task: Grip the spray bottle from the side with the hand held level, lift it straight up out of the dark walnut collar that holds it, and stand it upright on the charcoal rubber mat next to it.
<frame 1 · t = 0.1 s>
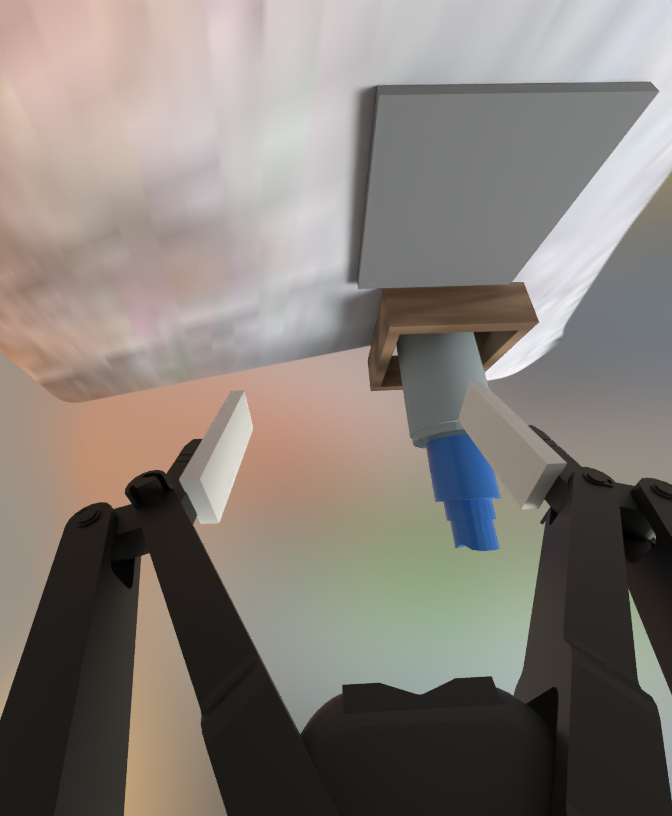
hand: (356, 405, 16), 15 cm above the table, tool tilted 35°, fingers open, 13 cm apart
spray bottle: (430, 327, 34), resting in walnut collar
walnut collar: (430, 329, 34), on the table
rubber mat: (461, 210, 21), on the table
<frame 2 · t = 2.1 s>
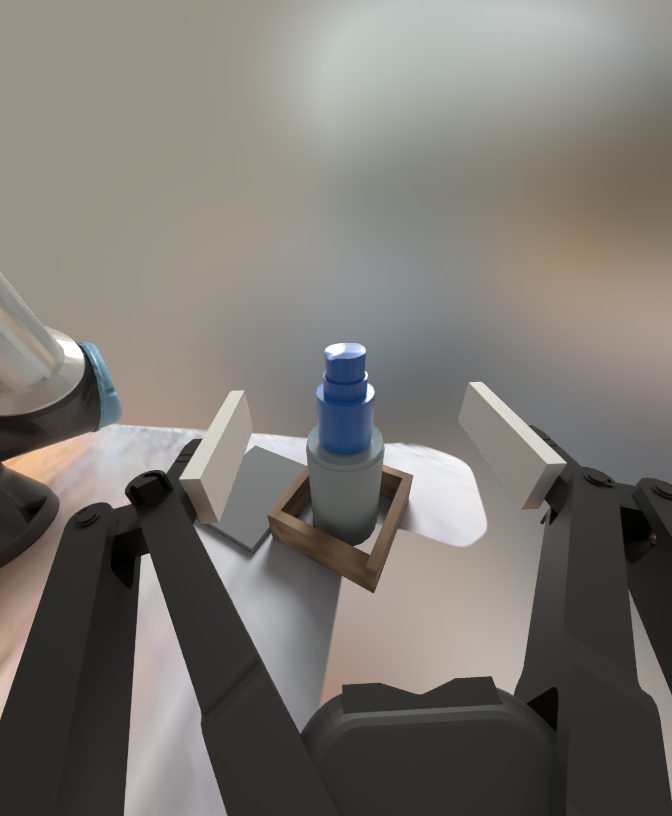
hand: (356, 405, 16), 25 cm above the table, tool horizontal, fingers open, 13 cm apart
spray bottle: (344, 517, 38), resting in walnut collar
walnut collar: (344, 516, 38), on the table
rubber mat: (255, 491, 42), on the table
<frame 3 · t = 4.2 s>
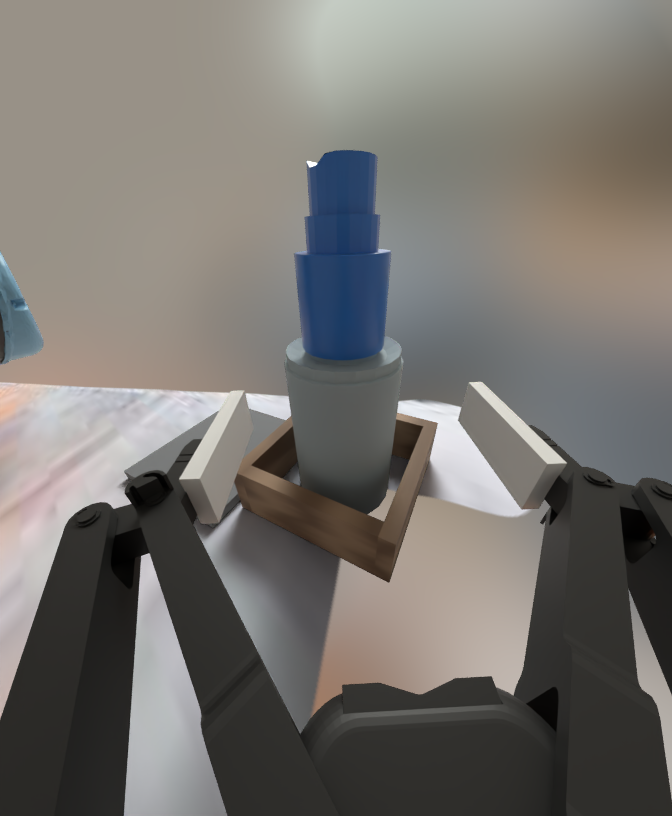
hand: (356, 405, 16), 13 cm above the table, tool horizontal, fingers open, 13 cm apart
spray bottle: (344, 482, 28), resting in walnut collar
walnut collar: (344, 480, 28), on the table
rubber mat: (225, 453, 32), on the table
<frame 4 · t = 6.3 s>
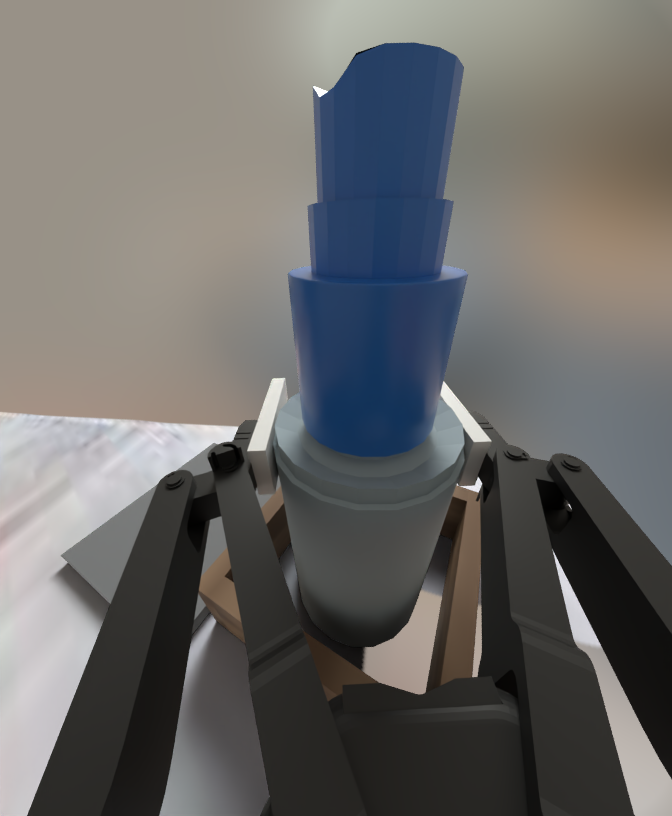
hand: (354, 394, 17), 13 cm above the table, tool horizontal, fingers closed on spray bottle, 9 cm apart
spray bottle: (357, 573, 21), resting in walnut collar, touching gripper
walnut collar: (357, 572, 20), on the table
rubber mat: (200, 520, 24), on the table
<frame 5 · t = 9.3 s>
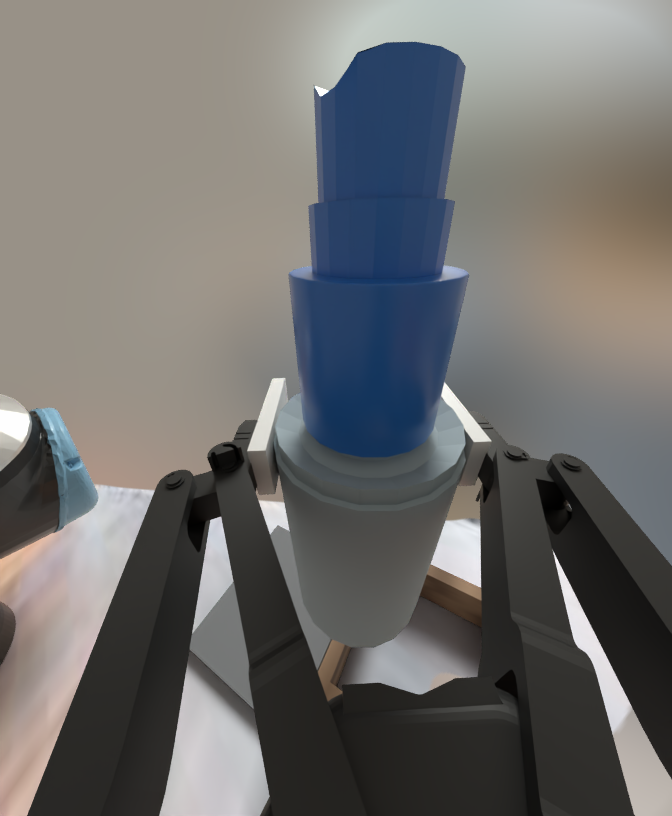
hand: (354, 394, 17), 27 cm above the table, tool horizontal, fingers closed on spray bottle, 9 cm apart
spray bottle: (357, 573, 21), point 14 cm above the table, touching gripper
walnut collar: (414, 661, 26), on the table
rubber mat: (282, 607, 31), on the table
when the fingers open (15 cm above the table, at t = 12.6 s): spray bottle drops 1 cm, resting on rubber mat.
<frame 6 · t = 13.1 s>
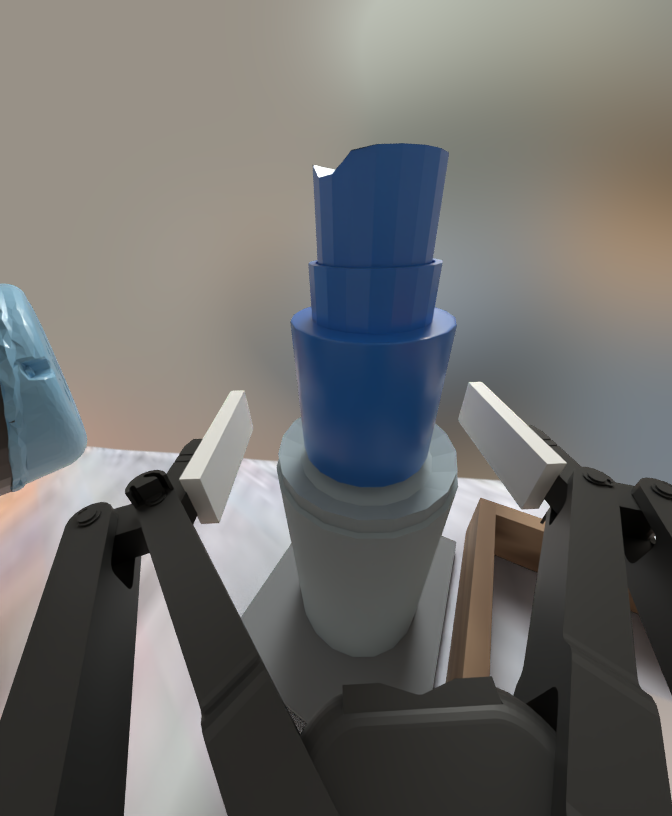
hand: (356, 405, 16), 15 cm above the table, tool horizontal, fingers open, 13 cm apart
spray bottle: (358, 584, 21), point 1 cm above the table, touching rubber mat
walnut collar: (572, 670, 17), on the table
rubber mat: (354, 593, 21), on the table
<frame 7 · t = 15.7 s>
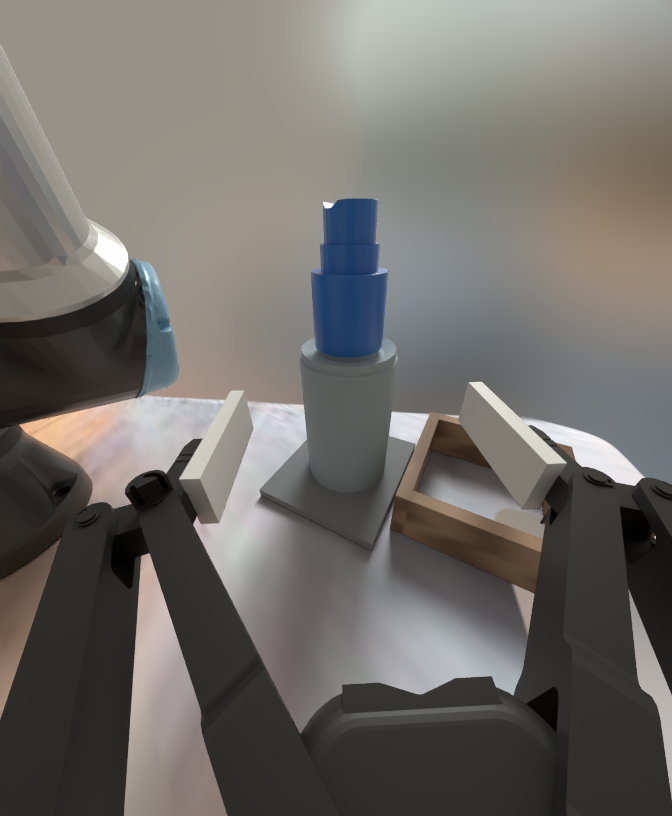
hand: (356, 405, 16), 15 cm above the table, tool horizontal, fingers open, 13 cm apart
spray bottle: (347, 463, 32), point 1 cm above the table, touching rubber mat
walnut collar: (477, 502, 28), on the table
rubber mat: (344, 470, 32), on the table
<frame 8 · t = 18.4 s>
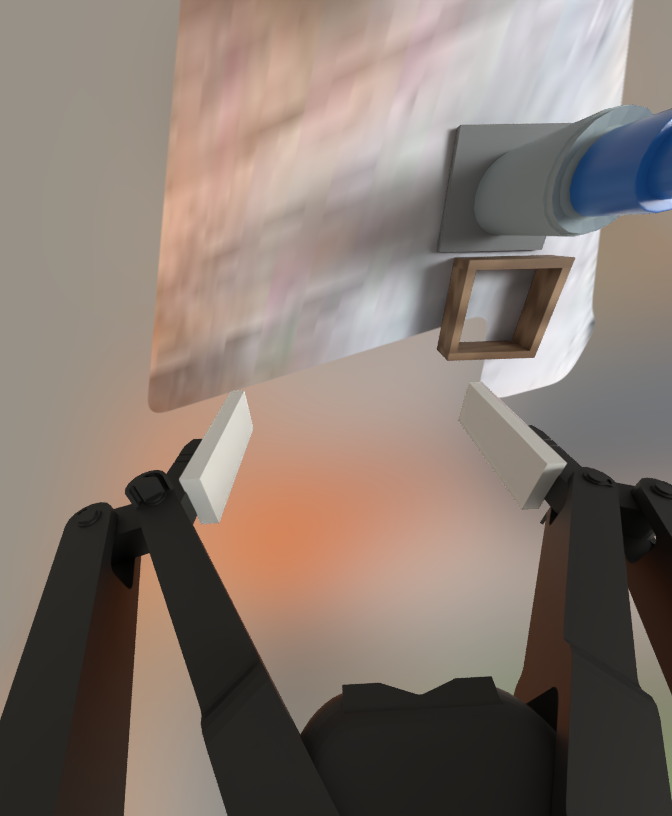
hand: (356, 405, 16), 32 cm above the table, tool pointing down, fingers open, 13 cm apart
spray bottle: (507, 195, 36), point 1 cm above the table, touching rubber mat
walnut collar: (488, 306, 44), on the table
rubber mat: (501, 194, 36), on the table
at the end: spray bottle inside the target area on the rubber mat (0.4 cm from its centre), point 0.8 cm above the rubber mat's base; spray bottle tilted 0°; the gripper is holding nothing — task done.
